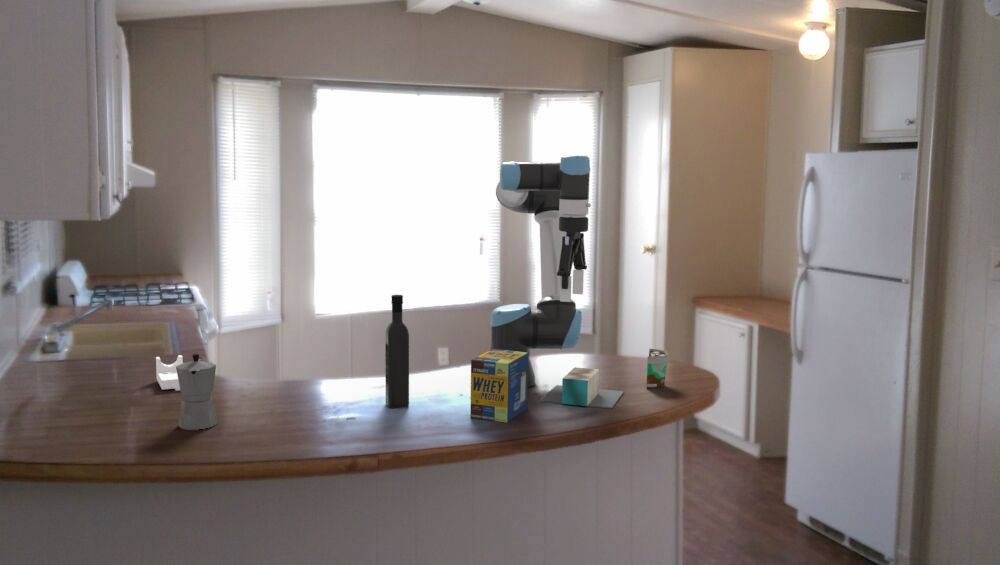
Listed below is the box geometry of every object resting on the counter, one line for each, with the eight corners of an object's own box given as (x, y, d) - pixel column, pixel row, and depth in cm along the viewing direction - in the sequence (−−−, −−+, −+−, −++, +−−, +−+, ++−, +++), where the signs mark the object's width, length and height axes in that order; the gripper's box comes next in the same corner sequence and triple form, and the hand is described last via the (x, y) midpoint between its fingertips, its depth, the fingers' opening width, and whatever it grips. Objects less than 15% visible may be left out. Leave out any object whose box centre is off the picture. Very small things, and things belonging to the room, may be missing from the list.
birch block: (562, 378, 250) (574, 367, 264) (561, 403, 251) (574, 391, 264) (587, 380, 248) (598, 369, 261) (587, 406, 249) (598, 393, 262)
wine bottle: (388, 408, 245) (388, 297, 241) (384, 403, 250) (384, 294, 246) (409, 407, 247) (410, 296, 243) (405, 401, 252) (405, 293, 248)
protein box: (469, 418, 238) (470, 359, 236) (492, 403, 252) (492, 348, 250) (507, 423, 234) (508, 363, 232) (528, 408, 248) (529, 351, 246)
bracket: (156, 382, 270) (155, 357, 269) (182, 380, 274) (181, 355, 273) (162, 392, 259) (161, 366, 258) (188, 390, 262) (187, 364, 261)
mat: (540, 401, 254) (540, 400, 254) (556, 386, 271) (556, 385, 271) (611, 408, 248) (611, 407, 248) (623, 392, 265) (623, 391, 265)
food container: (667, 391, 267) (669, 358, 266) (646, 390, 268) (647, 356, 267) (668, 381, 279) (670, 349, 278) (648, 380, 280) (649, 348, 279)
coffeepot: (215, 431, 223) (213, 359, 221) (174, 434, 221) (172, 360, 218) (220, 414, 238) (218, 345, 235) (181, 416, 236) (179, 347, 233)
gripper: (576, 219, 224) (574, 305, 227) (598, 213, 248) (596, 291, 251) (546, 218, 226) (545, 303, 229) (571, 212, 250) (569, 290, 253)
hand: (571, 297), depth 240 cm, fingers open, 13 cm apart
